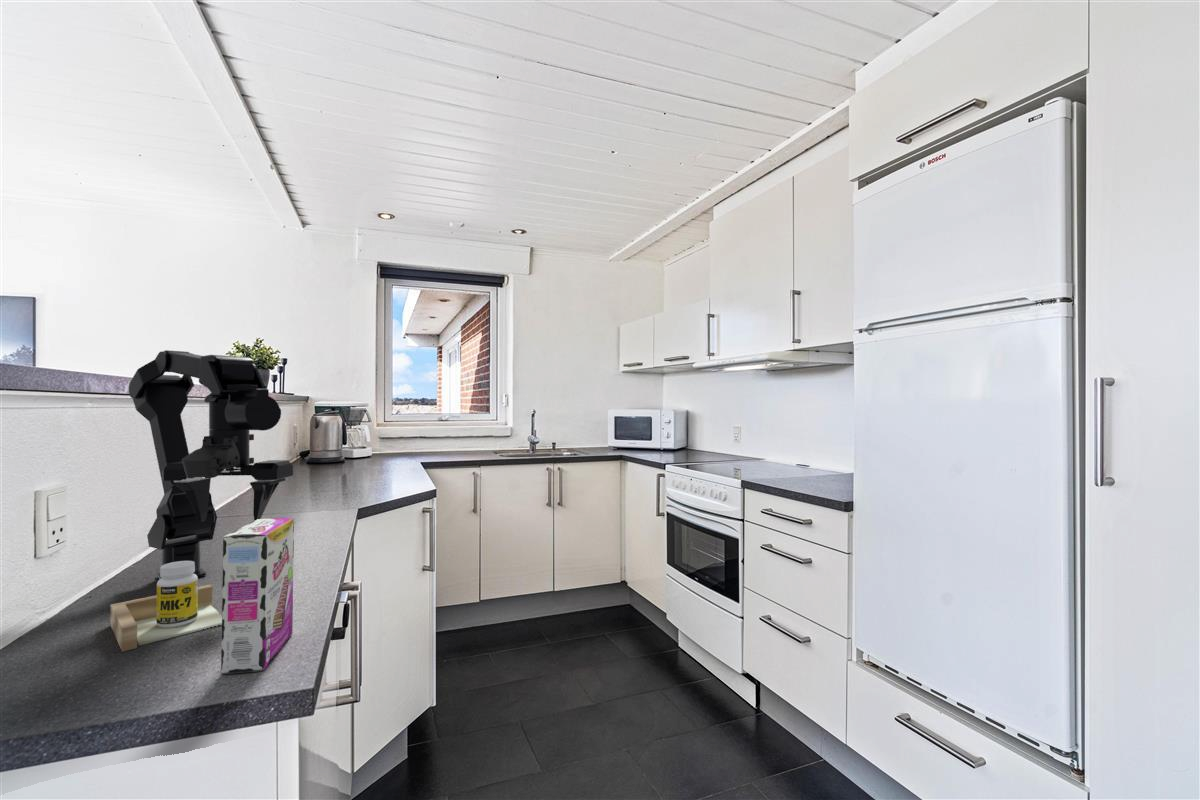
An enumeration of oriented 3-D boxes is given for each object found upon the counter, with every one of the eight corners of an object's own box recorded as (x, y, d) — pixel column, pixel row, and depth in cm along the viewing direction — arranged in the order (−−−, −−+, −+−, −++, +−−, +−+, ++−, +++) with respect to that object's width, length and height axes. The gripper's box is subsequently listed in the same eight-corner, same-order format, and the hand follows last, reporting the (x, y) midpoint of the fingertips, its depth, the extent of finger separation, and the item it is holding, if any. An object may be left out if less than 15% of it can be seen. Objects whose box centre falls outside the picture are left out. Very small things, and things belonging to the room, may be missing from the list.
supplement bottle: (154, 631, 77) (154, 571, 77) (158, 620, 81) (158, 563, 81) (197, 623, 80) (196, 565, 80) (198, 613, 84) (198, 557, 84)
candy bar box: (266, 671, 66) (266, 534, 66) (219, 676, 65) (219, 536, 65) (295, 633, 77) (295, 515, 77) (255, 637, 76) (255, 517, 76)
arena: (110, 625, 80) (110, 604, 80) (209, 603, 89) (209, 584, 89) (122, 651, 72) (122, 628, 72) (230, 624, 80) (230, 603, 80)
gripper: (135, 432, 86) (135, 532, 86) (257, 431, 87) (257, 531, 87) (186, 428, 98) (186, 517, 98) (294, 428, 98) (294, 516, 98)
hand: (229, 521), depth 95 cm, fingers open, 9 cm apart
